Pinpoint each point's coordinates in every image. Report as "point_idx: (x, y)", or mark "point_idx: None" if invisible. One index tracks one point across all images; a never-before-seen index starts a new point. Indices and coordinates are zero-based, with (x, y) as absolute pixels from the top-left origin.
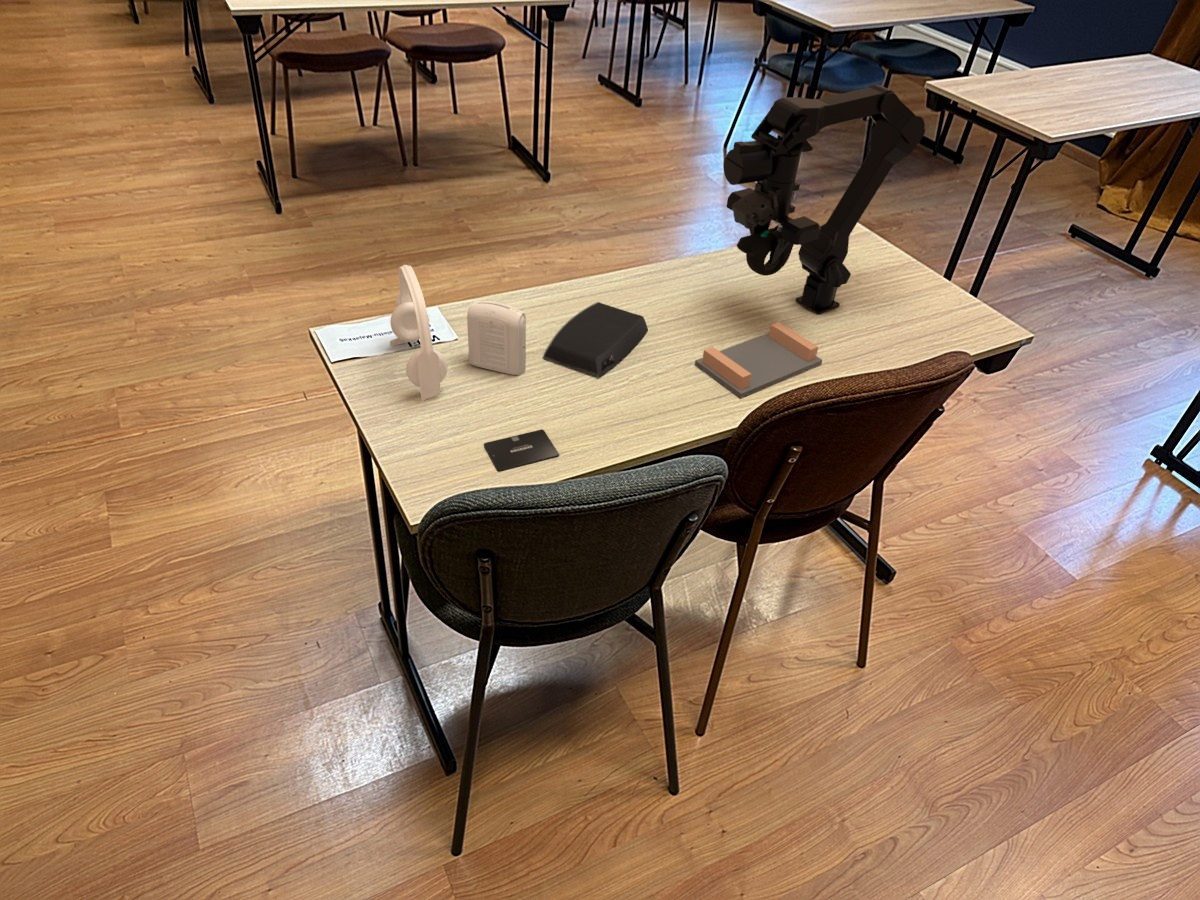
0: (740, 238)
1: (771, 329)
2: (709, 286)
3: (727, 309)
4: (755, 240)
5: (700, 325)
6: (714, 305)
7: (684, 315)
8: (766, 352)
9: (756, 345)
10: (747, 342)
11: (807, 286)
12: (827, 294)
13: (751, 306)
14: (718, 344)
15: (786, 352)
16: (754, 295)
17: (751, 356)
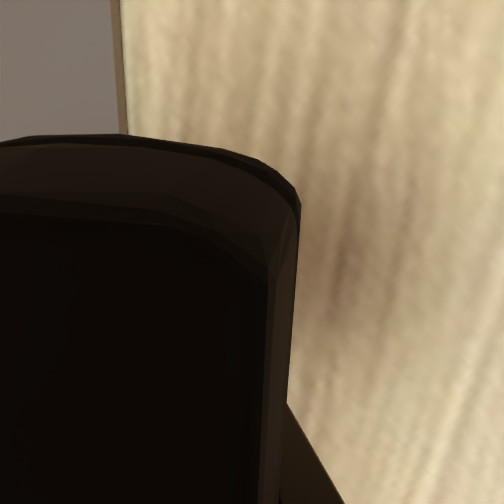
0: (267, 259)
1: None
2: (490, 290)
3: (335, 229)
4: (7, 415)
5: (312, 59)
6: (383, 210)
7: (405, 54)
8: (30, 113)
9: (78, 115)
10: (108, 102)
11: None
12: None
13: (301, 308)
14: (177, 24)
15: None
16: (345, 365)
17: (29, 43)
